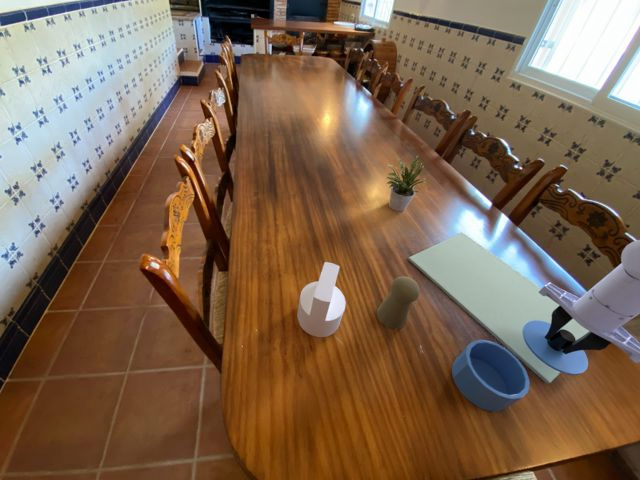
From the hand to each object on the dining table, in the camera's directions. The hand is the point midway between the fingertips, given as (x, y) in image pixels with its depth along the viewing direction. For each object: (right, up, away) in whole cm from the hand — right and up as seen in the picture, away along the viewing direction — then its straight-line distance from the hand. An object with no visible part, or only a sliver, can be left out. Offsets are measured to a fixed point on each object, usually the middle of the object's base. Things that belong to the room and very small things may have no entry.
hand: (557, 343), depth 55 cm
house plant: (-15, +27, +40) cm, 51 cm away
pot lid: (0, -1, +1) cm, 1 cm away
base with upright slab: (-43, +2, +7) cm, 44 cm away
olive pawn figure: (-28, +2, +8) cm, 29 cm away
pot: (-15, -7, -1) cm, 16 cm away
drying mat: (-1, +6, +15) cm, 16 cm away
